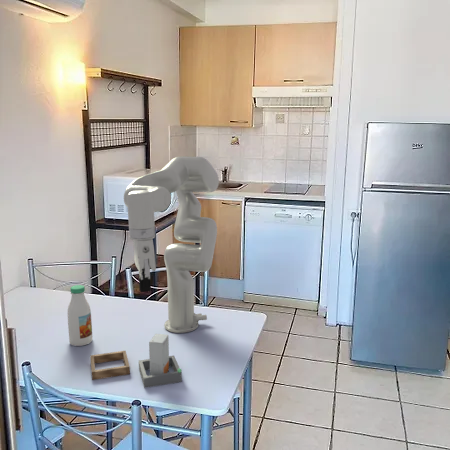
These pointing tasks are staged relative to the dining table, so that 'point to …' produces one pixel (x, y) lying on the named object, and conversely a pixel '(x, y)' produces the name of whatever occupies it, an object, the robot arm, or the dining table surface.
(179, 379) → the gray square frame
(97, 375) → the wooden picture frame
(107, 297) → the dining table surface
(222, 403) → the dining table surface
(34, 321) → the dining table surface
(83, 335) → the milk bottle
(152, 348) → the skincare box
